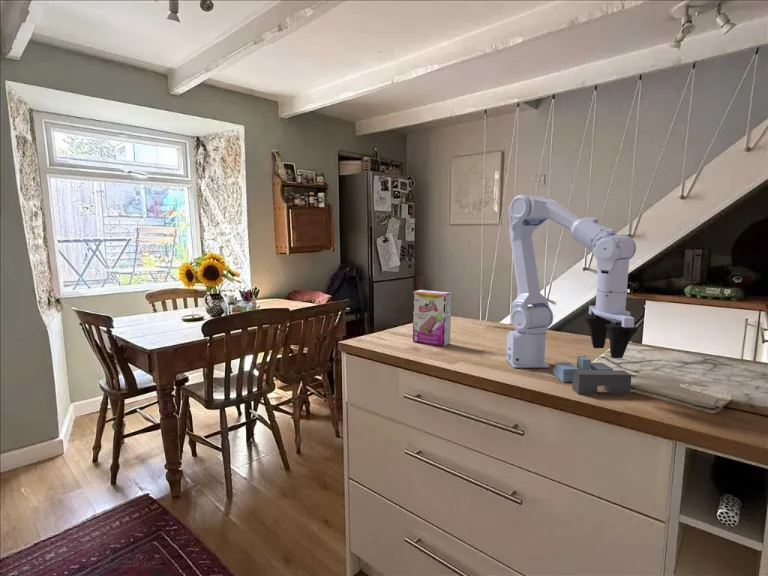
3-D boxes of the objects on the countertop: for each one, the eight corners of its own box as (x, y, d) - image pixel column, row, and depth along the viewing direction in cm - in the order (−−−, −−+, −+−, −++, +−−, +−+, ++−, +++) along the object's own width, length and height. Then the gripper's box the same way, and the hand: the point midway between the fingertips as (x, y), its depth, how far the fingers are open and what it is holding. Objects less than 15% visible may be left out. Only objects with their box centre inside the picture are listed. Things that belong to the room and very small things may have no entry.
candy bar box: (412, 342, 134) (412, 291, 132) (419, 338, 138) (419, 289, 136) (444, 347, 128) (445, 294, 126) (450, 343, 132) (452, 292, 130)
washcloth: (718, 418, 80) (720, 402, 80) (618, 391, 94) (619, 377, 93) (733, 402, 88) (735, 388, 87) (639, 379, 101) (640, 367, 101)
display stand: (562, 382, 98) (564, 361, 97) (552, 373, 104) (553, 353, 103) (614, 382, 98) (616, 361, 97) (601, 373, 104) (602, 354, 103)
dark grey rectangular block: (578, 394, 91) (579, 374, 90) (572, 389, 94) (573, 369, 93) (629, 395, 90) (631, 374, 90) (622, 389, 93) (623, 370, 93)
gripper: (651, 296, 83) (645, 362, 85) (611, 287, 97) (607, 343, 99) (616, 296, 83) (611, 362, 85) (581, 287, 97) (577, 344, 99)
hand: (607, 352), depth 92 cm, fingers open, 7 cm apart
